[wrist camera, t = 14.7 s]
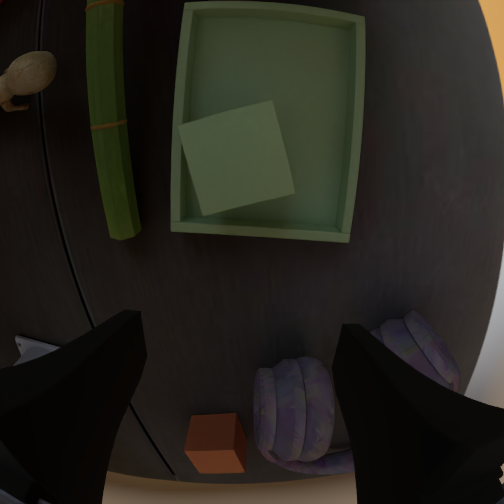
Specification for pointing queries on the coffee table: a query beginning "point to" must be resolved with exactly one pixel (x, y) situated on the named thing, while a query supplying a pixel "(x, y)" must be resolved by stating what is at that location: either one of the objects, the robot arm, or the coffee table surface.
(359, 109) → the sage tray
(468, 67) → the coffee table surface
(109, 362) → the robot arm
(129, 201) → the decorative plant
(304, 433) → the headphones
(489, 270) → the coffee table surface
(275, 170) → the sage block
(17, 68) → the figurine
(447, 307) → the coffee table surface
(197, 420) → the terracotta block
